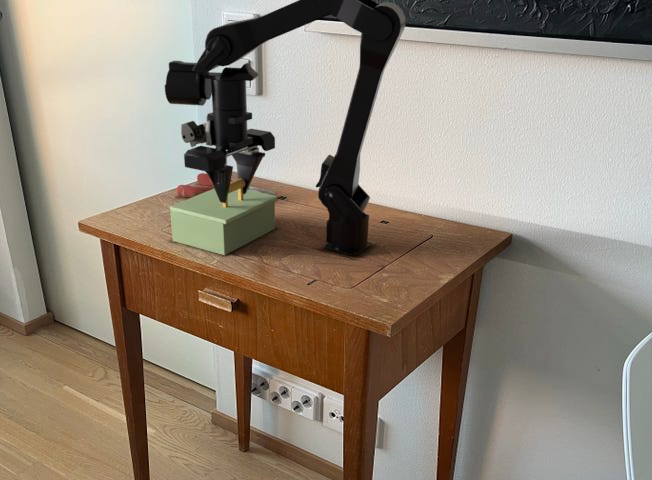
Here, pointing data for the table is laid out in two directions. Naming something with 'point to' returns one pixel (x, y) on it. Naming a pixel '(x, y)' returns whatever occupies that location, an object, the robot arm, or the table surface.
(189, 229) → the box
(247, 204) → the lid
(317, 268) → the table surface
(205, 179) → the pliers
